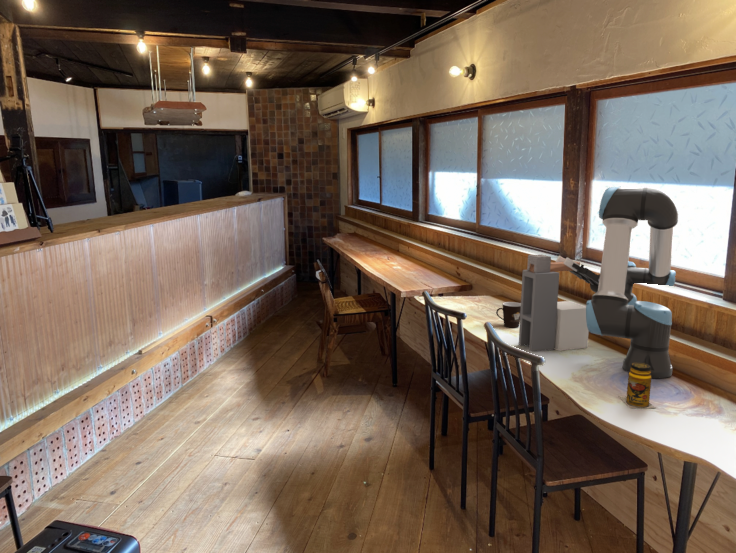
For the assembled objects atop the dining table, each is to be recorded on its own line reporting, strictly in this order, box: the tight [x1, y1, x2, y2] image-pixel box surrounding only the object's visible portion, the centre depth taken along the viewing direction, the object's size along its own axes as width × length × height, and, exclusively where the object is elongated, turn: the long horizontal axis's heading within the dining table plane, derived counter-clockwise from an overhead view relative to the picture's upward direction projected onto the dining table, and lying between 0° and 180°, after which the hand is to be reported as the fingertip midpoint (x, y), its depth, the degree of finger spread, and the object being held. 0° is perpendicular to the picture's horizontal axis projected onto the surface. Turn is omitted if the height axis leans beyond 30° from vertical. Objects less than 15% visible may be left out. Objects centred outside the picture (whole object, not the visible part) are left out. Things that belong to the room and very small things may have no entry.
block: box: [554, 300, 590, 351], centre depth 214 cm, size 12×13×16 cm
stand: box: [518, 269, 560, 353], centre depth 210 cm, size 9×10×30 cm
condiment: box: [618, 363, 657, 409], centre depth 160 cm, size 7×8×12 cm
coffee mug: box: [495, 301, 521, 329], centre depth 241 cm, size 12×9×10 cm
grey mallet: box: [526, 254, 581, 273], centre depth 208 cm, size 6×20×6 cm, turn 106°
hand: (561, 259), depth 208 cm, fingers open, 4 cm apart
